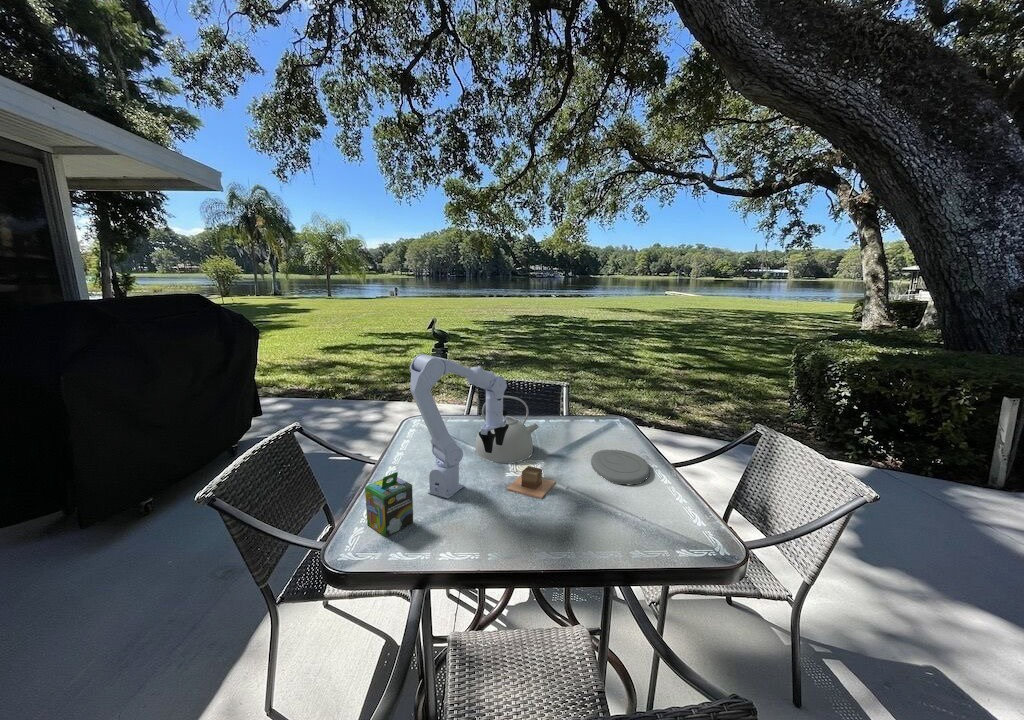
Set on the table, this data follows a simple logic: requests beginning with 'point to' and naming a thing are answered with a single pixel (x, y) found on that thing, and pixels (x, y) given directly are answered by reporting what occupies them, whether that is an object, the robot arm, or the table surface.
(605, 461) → the frisbee
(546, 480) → the terracotta tile
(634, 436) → the table surface
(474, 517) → the table surface
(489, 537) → the table surface
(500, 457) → the kettle
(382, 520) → the chalk box
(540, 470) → the walnut block
